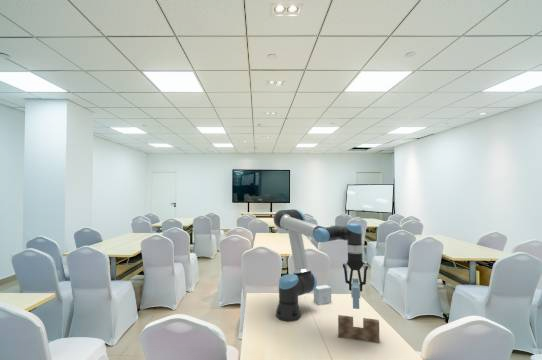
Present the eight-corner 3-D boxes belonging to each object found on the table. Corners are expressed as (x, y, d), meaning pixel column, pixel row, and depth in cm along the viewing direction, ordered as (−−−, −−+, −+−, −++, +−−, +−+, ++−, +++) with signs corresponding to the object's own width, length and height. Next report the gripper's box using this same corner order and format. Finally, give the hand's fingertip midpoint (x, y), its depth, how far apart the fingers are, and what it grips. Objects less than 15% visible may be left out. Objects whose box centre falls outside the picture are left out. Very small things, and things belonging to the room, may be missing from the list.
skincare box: (326, 299, 195) (326, 284, 195) (331, 303, 189) (331, 287, 189) (313, 301, 190) (313, 286, 191) (318, 305, 185) (318, 289, 185)
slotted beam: (338, 337, 144) (338, 317, 144) (338, 334, 146) (338, 315, 147) (379, 342, 138) (379, 322, 139) (378, 339, 141) (378, 319, 142)
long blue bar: (352, 308, 136) (352, 287, 136) (352, 297, 151) (352, 278, 152) (359, 309, 135) (358, 288, 135) (358, 297, 150) (358, 278, 151)
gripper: (339, 253, 148) (340, 298, 147) (371, 254, 144) (372, 301, 142) (339, 250, 156) (340, 293, 154) (370, 251, 151) (371, 296, 150)
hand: (355, 296), depth 148 cm, fingers closed on long blue bar, 3 cm apart
